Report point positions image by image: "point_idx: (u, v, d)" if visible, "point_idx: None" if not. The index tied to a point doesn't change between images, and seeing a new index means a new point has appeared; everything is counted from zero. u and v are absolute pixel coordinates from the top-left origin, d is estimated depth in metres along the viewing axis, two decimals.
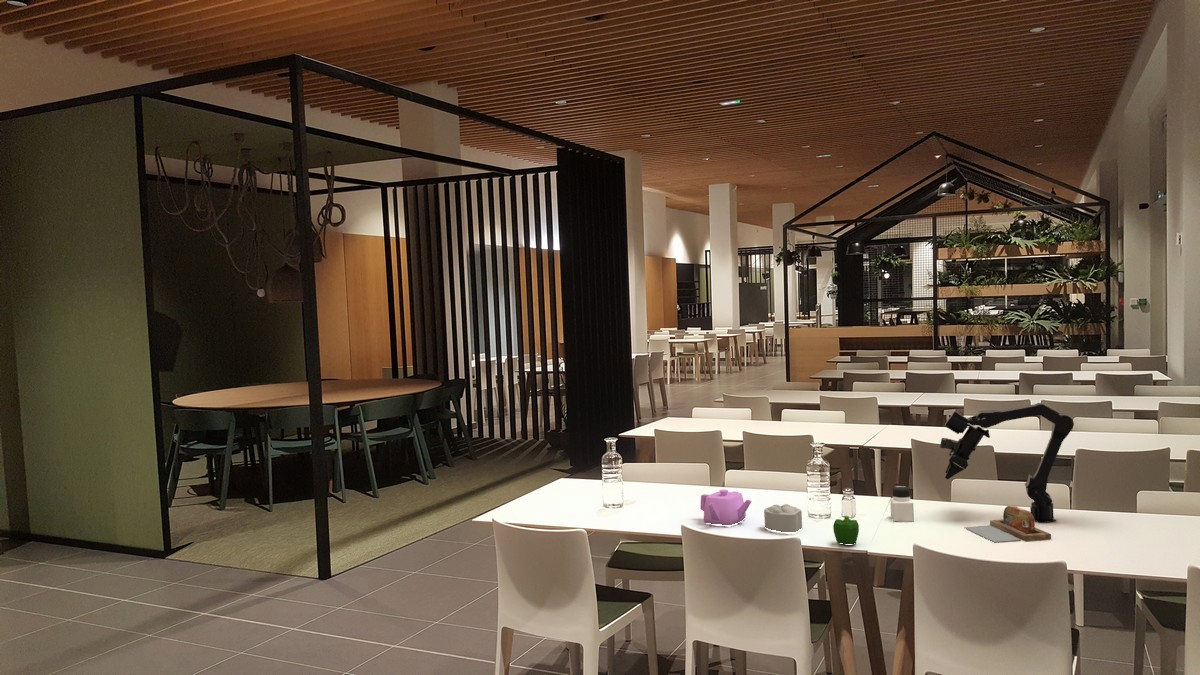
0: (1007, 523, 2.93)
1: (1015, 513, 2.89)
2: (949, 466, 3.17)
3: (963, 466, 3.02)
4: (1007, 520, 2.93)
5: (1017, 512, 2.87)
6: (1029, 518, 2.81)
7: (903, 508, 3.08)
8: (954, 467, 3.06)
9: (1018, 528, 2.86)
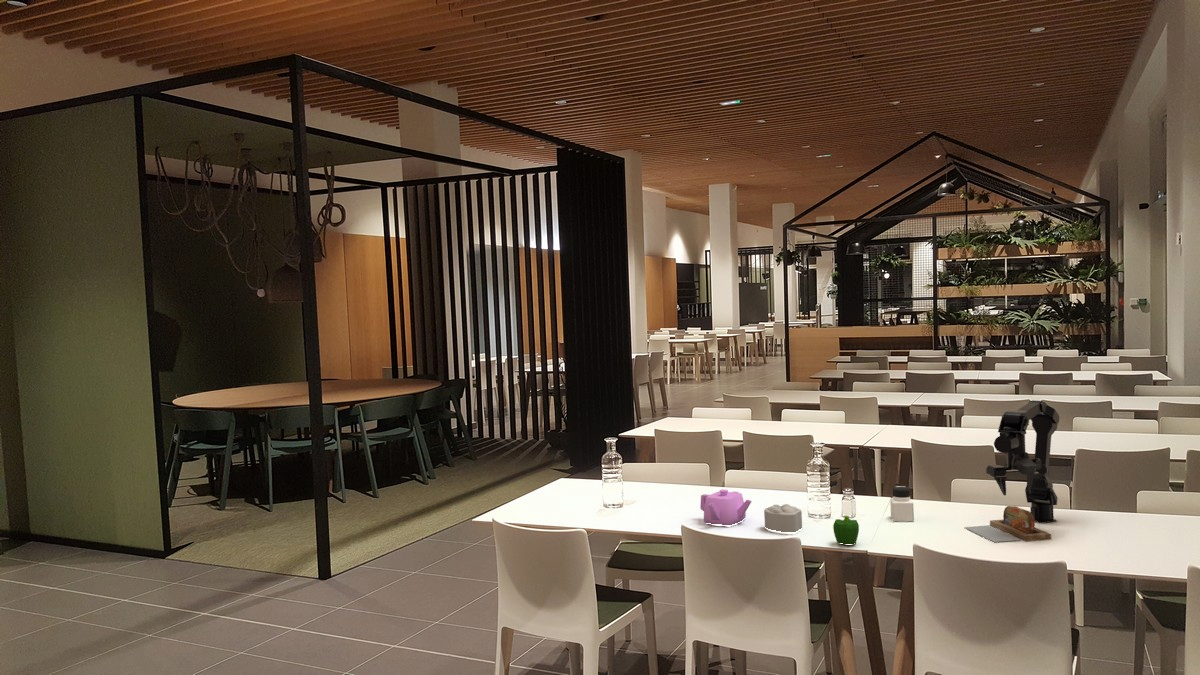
0: (1007, 523, 2.93)
1: (1015, 513, 2.89)
2: None
3: None
4: (1007, 520, 2.93)
5: (1017, 512, 2.87)
6: (1029, 518, 2.81)
7: (903, 508, 3.08)
8: None
9: (1018, 528, 2.86)
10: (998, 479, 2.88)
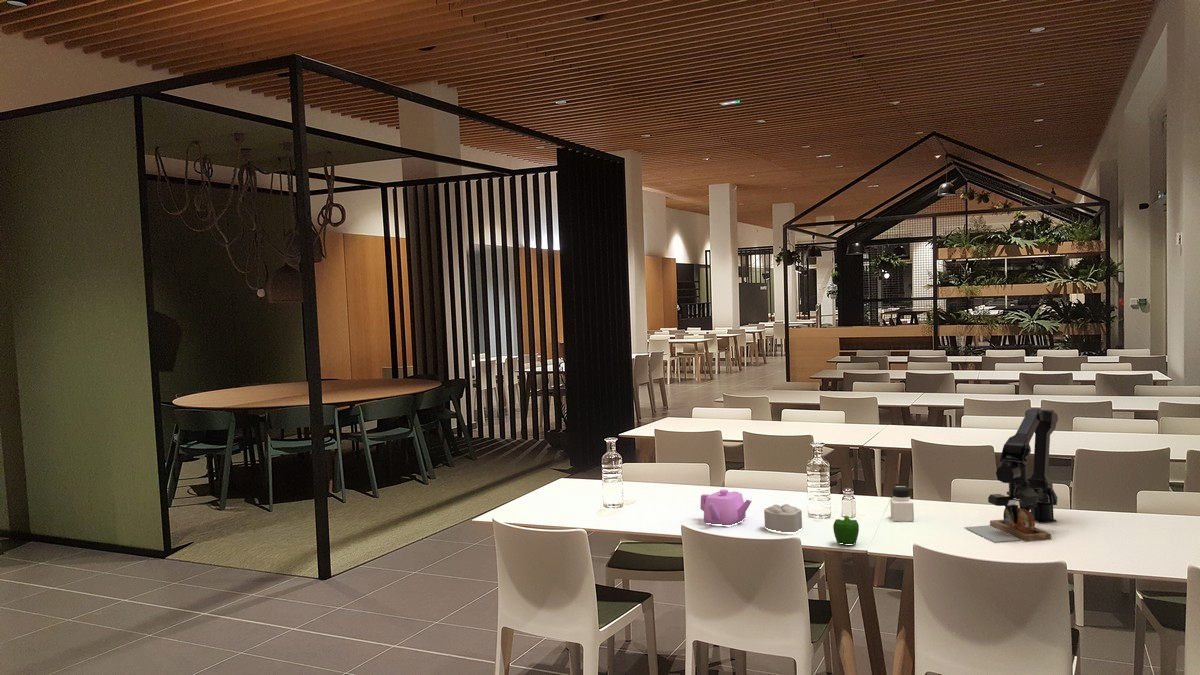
0: (1008, 523, 2.93)
1: None
2: None
3: None
4: (1007, 520, 2.93)
5: (1017, 511, 2.87)
6: (1029, 518, 2.81)
7: (903, 508, 3.08)
8: None
9: (1018, 528, 2.86)
10: (1009, 507, 2.88)
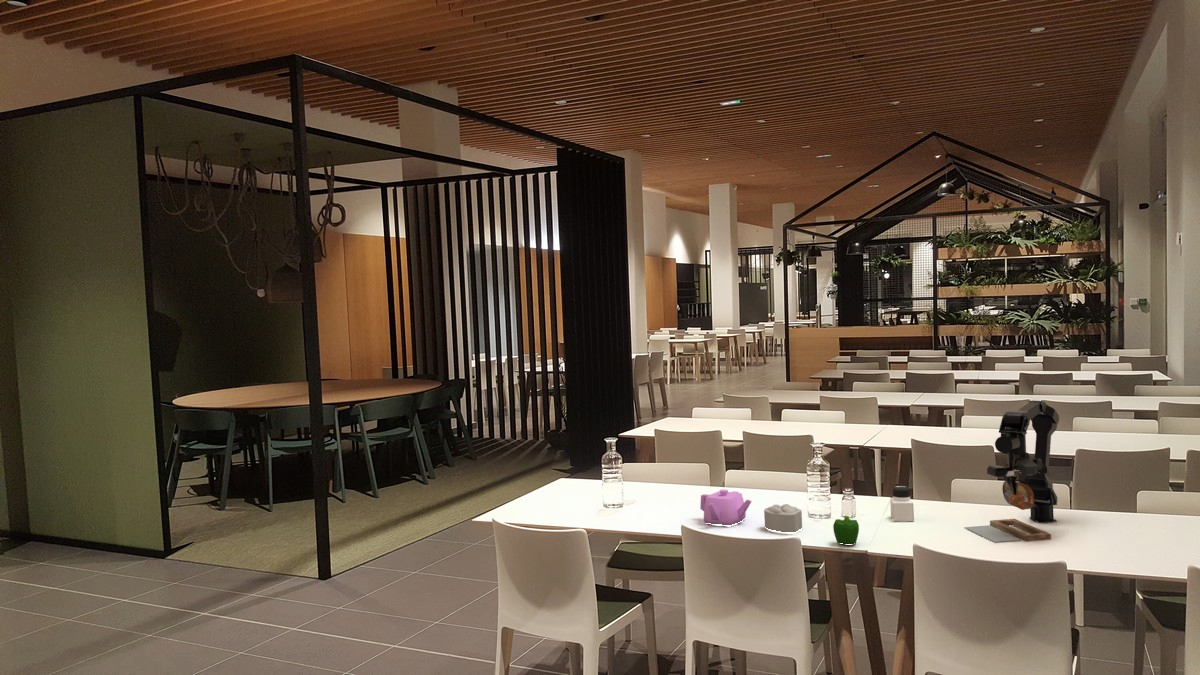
0: (1007, 497, 2.93)
1: None
2: None
3: None
4: (1006, 494, 2.93)
5: None
6: (1028, 492, 2.81)
7: (903, 508, 3.08)
8: None
9: (1018, 502, 2.86)
10: (1008, 479, 2.88)
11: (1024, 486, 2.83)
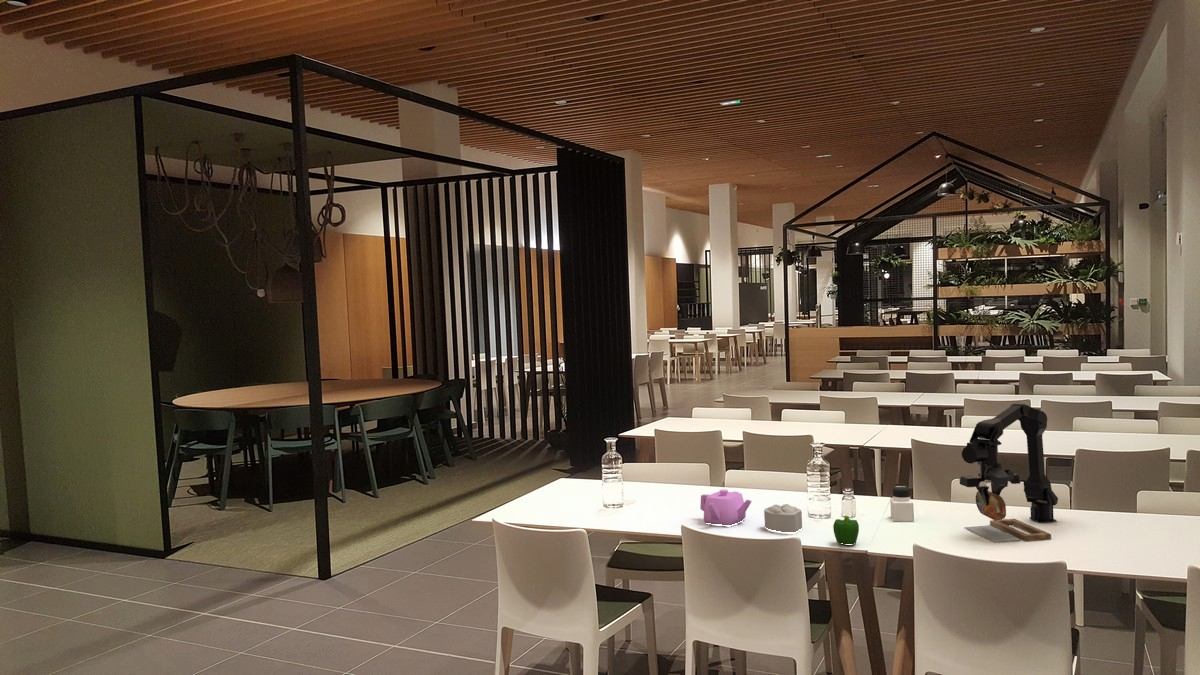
0: (980, 507, 2.92)
1: None
2: None
3: None
4: (980, 504, 2.92)
5: (988, 496, 2.86)
6: (1000, 503, 2.80)
7: (903, 508, 3.08)
8: None
9: (990, 513, 2.86)
10: (980, 489, 2.87)
11: (996, 497, 2.82)
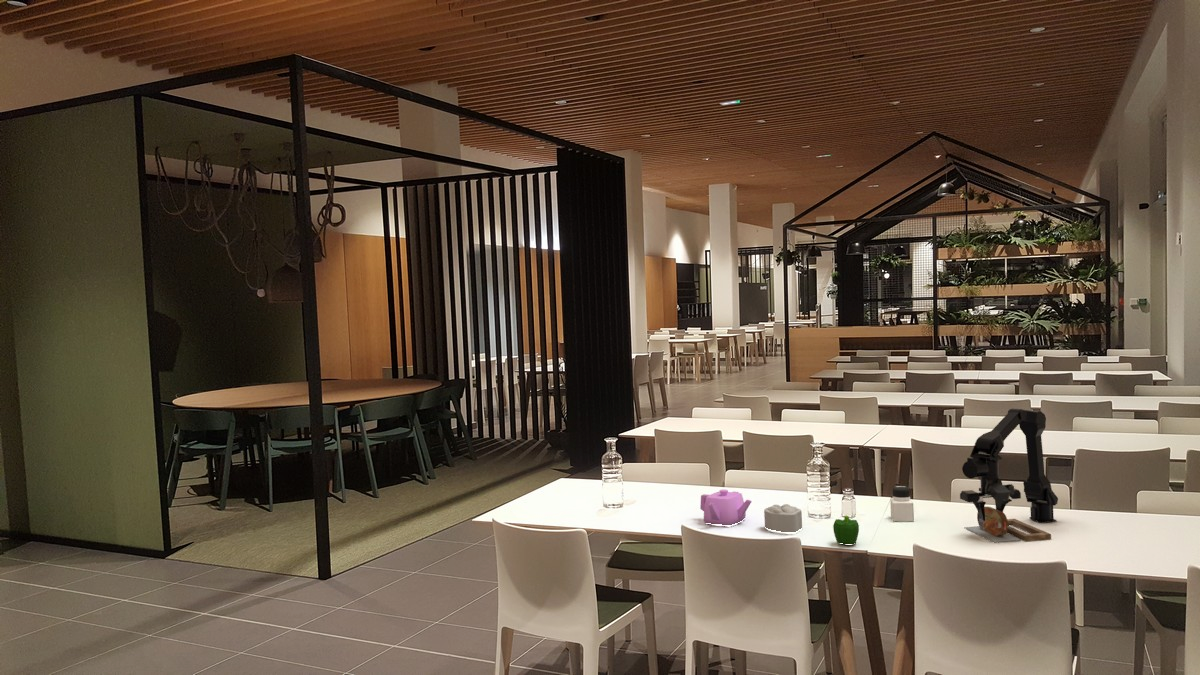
0: (981, 524, 2.92)
1: (988, 513, 2.88)
2: None
3: None
4: (981, 520, 2.92)
5: (990, 512, 2.87)
6: (1002, 518, 2.80)
7: (903, 508, 3.08)
8: None
9: (991, 528, 2.86)
10: (977, 504, 2.87)
11: (999, 512, 2.82)
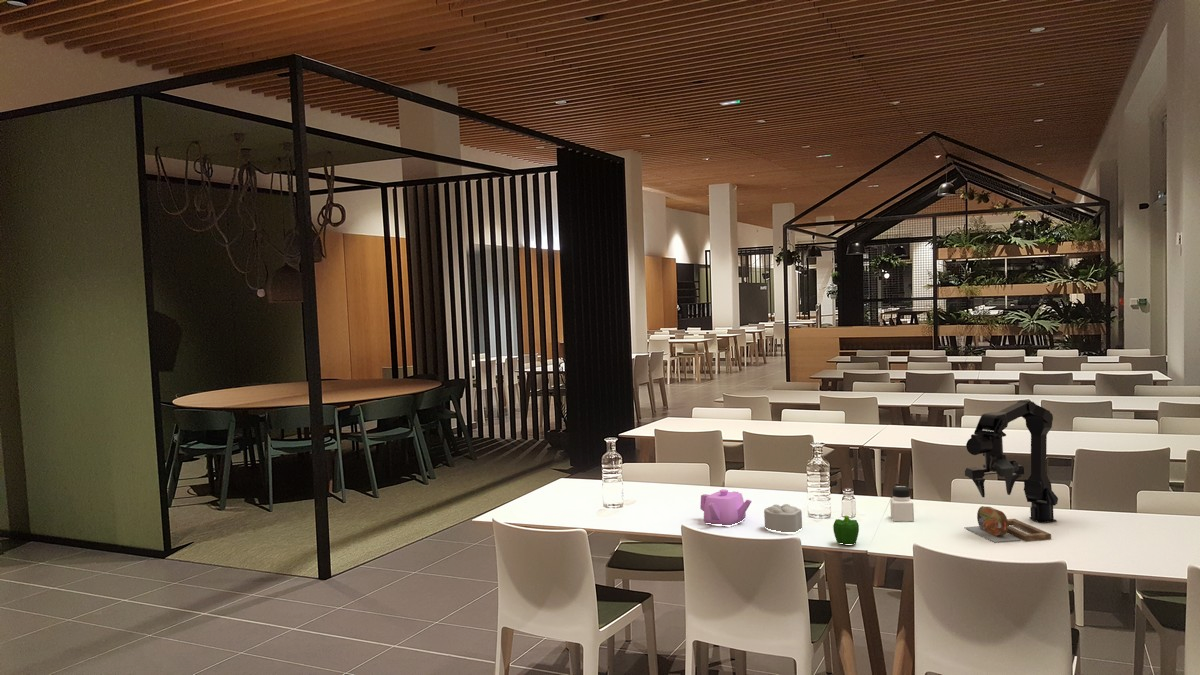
0: (981, 524, 2.92)
1: (988, 513, 2.88)
2: (983, 489, 2.88)
3: None
4: (981, 520, 2.92)
5: (990, 512, 2.87)
6: (1002, 518, 2.80)
7: (903, 508, 3.08)
8: None
9: (991, 528, 2.86)
10: (976, 481, 2.89)
11: (999, 512, 2.82)
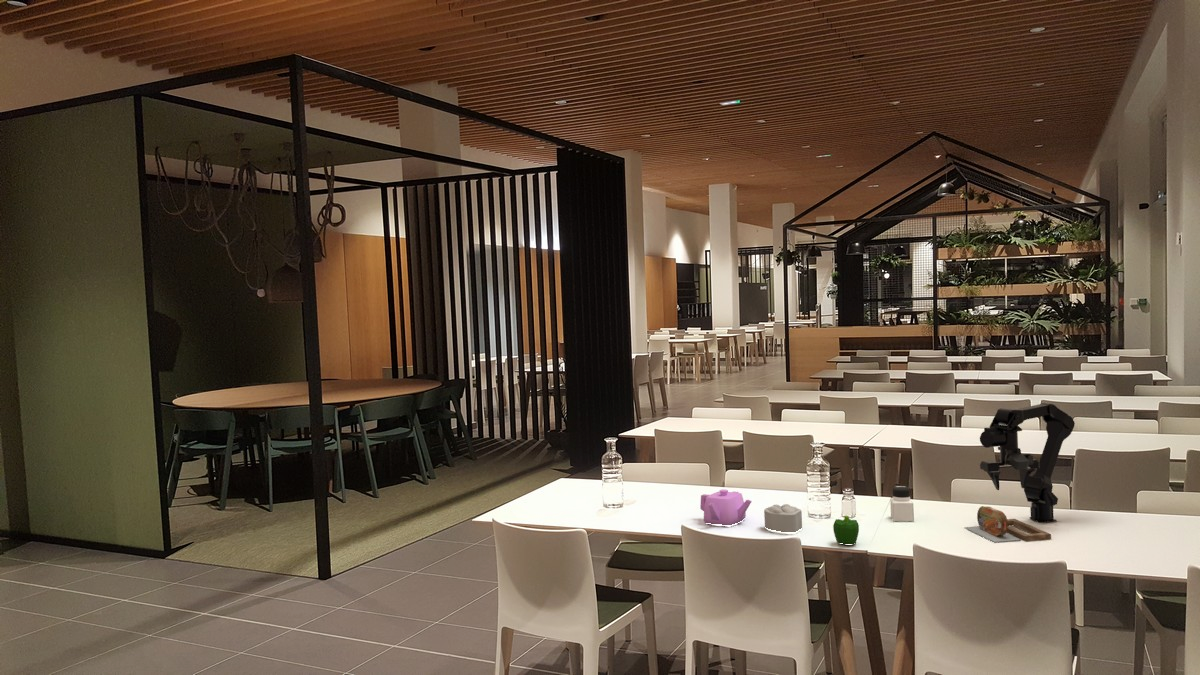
0: (981, 524, 2.92)
1: (988, 513, 2.88)
2: None
3: None
4: (981, 520, 2.92)
5: (990, 512, 2.87)
6: (1002, 518, 2.80)
7: (903, 508, 3.08)
8: None
9: (991, 528, 2.86)
10: (991, 474, 2.96)
11: (999, 512, 2.82)
